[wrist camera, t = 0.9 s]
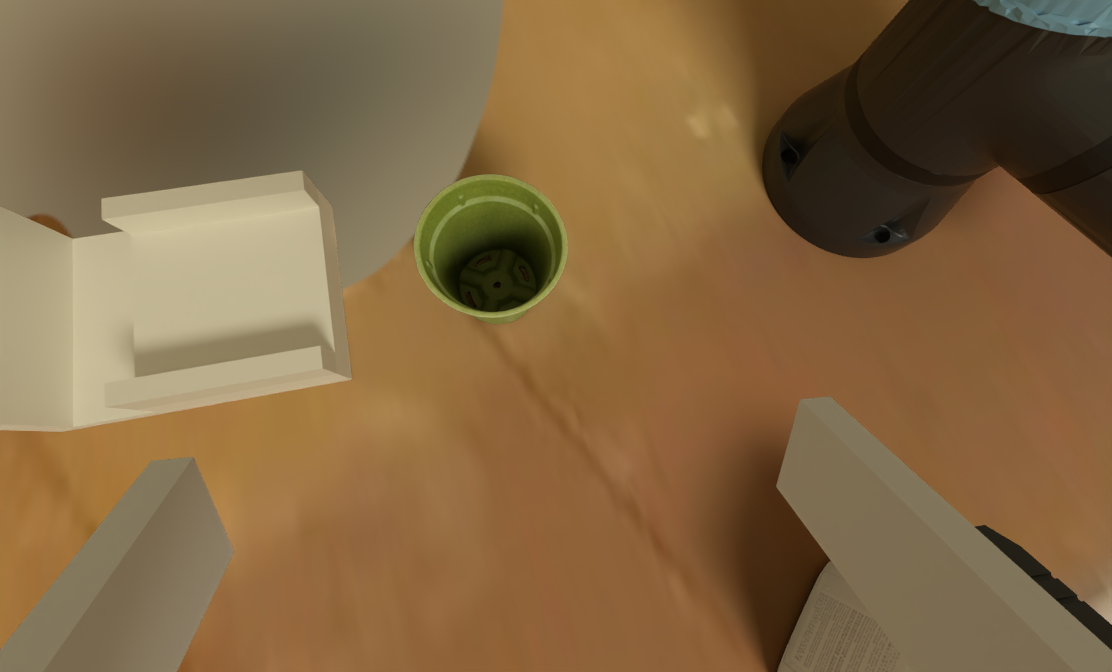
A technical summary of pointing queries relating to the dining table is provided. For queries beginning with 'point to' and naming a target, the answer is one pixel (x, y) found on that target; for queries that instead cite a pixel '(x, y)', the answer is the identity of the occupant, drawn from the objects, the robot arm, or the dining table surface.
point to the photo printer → (838, 633)
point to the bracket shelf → (171, 304)
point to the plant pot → (490, 246)
